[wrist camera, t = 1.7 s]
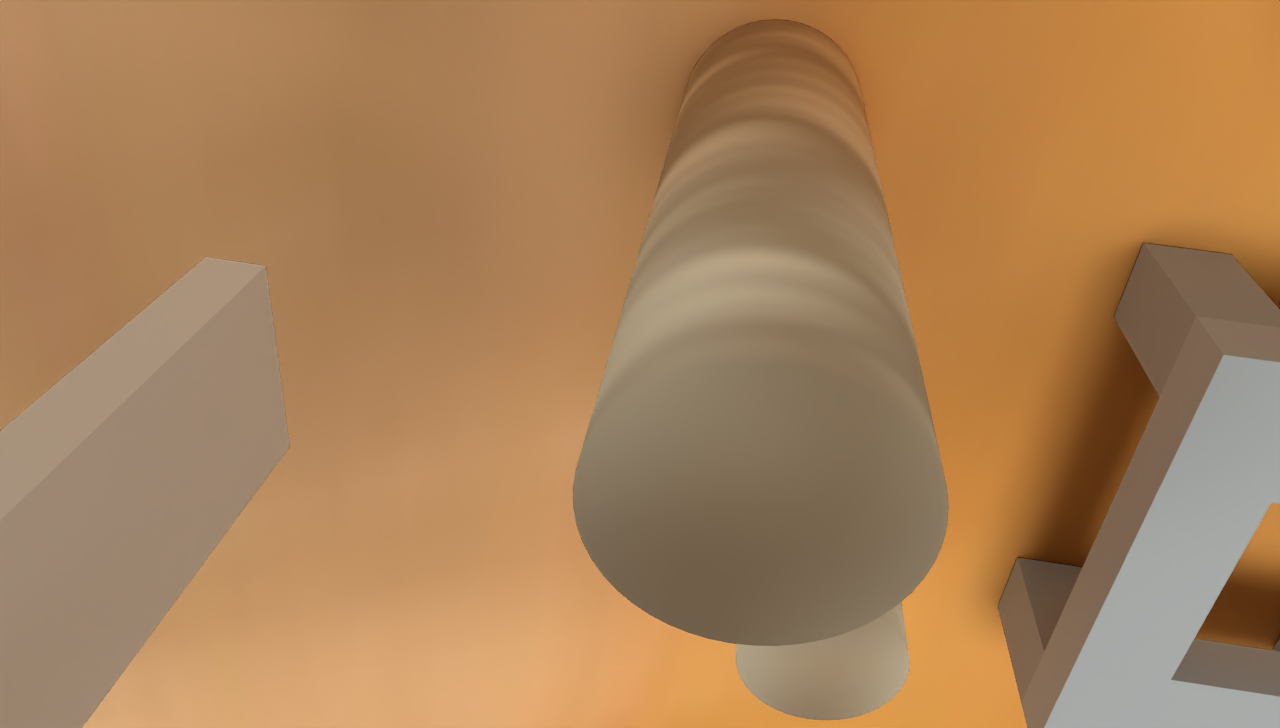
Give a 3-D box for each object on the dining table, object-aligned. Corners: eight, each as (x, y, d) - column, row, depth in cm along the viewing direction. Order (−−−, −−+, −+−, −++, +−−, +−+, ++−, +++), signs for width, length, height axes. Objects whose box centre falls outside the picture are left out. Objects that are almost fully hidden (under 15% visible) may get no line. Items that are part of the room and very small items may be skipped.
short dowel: (736, 540, 29) (725, 705, 24) (755, 433, 27) (748, 589, 22) (870, 560, 29) (888, 732, 24) (901, 454, 27) (928, 617, 22)
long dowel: (675, 181, 24) (564, 616, 12) (694, 9, 21) (582, 331, 10) (842, 203, 23) (900, 669, 12) (878, 31, 21) (995, 389, 9)
